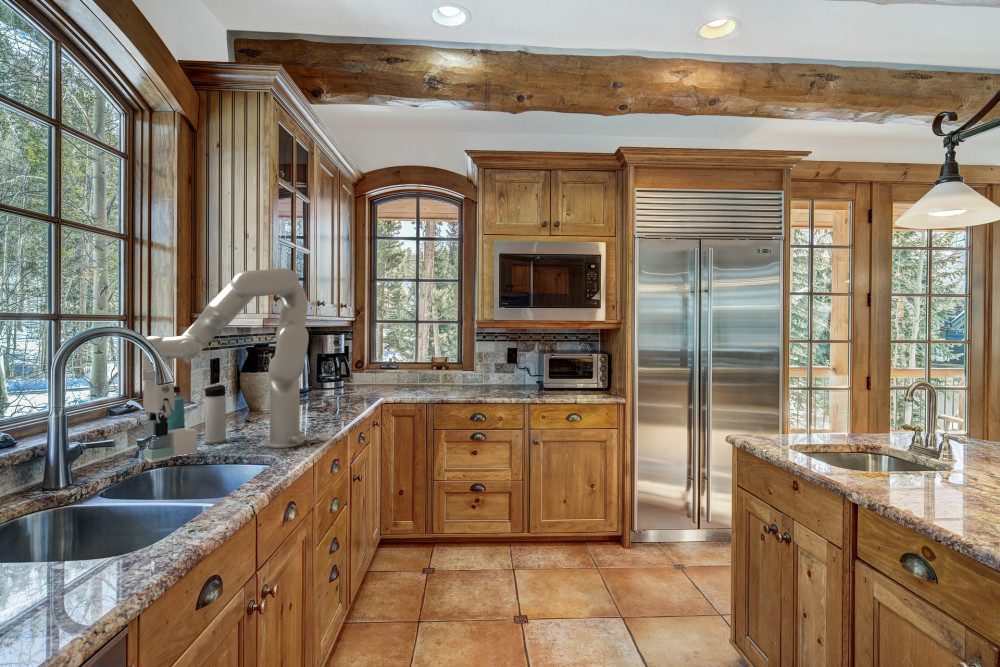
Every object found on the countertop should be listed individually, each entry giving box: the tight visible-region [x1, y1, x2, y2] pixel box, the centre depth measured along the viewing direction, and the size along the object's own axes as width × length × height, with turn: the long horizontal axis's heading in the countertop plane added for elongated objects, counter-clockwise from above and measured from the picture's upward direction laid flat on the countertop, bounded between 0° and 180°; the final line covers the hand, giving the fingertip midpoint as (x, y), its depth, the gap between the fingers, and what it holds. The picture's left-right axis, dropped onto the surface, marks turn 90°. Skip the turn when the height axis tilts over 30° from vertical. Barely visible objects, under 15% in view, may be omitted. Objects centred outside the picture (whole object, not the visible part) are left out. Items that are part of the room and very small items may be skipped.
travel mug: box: [204, 384, 227, 445], centre depth 170 cm, size 6×7×20 cm
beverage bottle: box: [162, 385, 186, 431], centre depth 169 cm, size 6×7×20 cm
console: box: [143, 427, 198, 464], centre depth 152 cm, size 7×13×8 cm, turn 149°
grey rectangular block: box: [146, 420, 168, 449], centre depth 149 cm, size 4×4×8 cm
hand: (157, 434), depth 149 cm, fingers closed on grey rectangular block, 4 cm apart
